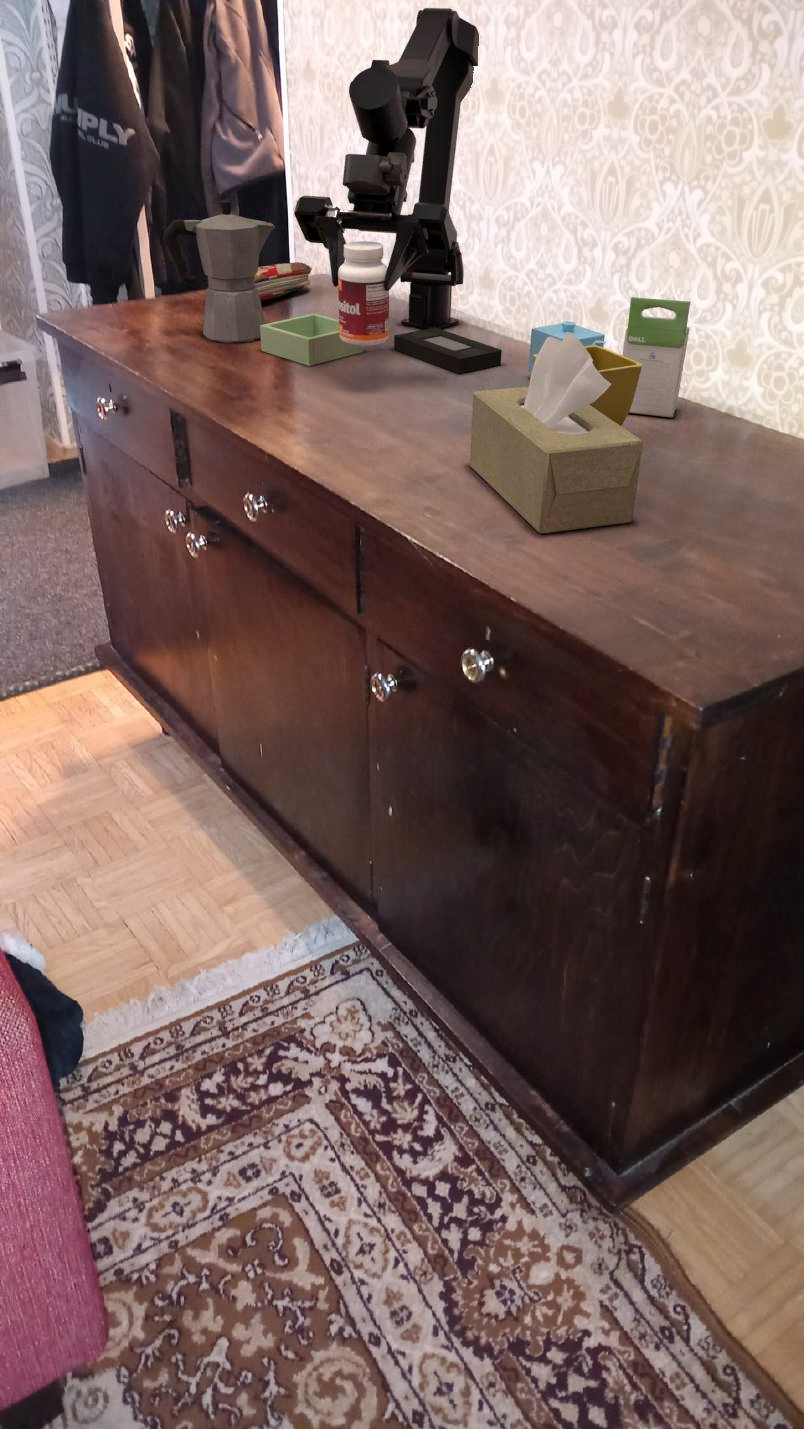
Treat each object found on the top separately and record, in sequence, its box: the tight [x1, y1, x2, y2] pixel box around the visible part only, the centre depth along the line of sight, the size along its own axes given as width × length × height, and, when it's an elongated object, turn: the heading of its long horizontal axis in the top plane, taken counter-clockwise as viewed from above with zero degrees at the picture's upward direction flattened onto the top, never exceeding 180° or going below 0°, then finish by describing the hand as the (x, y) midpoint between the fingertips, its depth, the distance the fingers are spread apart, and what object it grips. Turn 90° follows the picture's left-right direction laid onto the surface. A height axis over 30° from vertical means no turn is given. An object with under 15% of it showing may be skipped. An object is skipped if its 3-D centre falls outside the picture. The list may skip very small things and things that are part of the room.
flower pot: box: [533, 345, 642, 427], centre depth 119 cm, size 9×9×9 cm
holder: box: [260, 312, 364, 367], centre depth 149 cm, size 10×10×4 cm
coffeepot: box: [163, 199, 276, 344], centre depth 151 cm, size 15×9×18 cm, turn 103°
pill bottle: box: [337, 240, 390, 347], centre depth 130 cm, size 6×6×11 cm
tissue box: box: [469, 332, 644, 535], centre depth 103 cm, size 19×10×16 cm, turn 18°
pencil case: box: [255, 261, 313, 303], centre depth 174 cm, size 11×20×5 cm, turn 133°
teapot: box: [527, 321, 607, 373], centre depth 136 cm, size 12×6×8 cm, turn 33°
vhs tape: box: [393, 328, 503, 375], centre depth 148 cm, size 8×14×2 cm, turn 38°
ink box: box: [621, 296, 692, 418], centre depth 126 cm, size 7×4×13 cm, turn 71°
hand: (360, 286), depth 128 cm, fingers closed on pill bottle, 6 cm apart
